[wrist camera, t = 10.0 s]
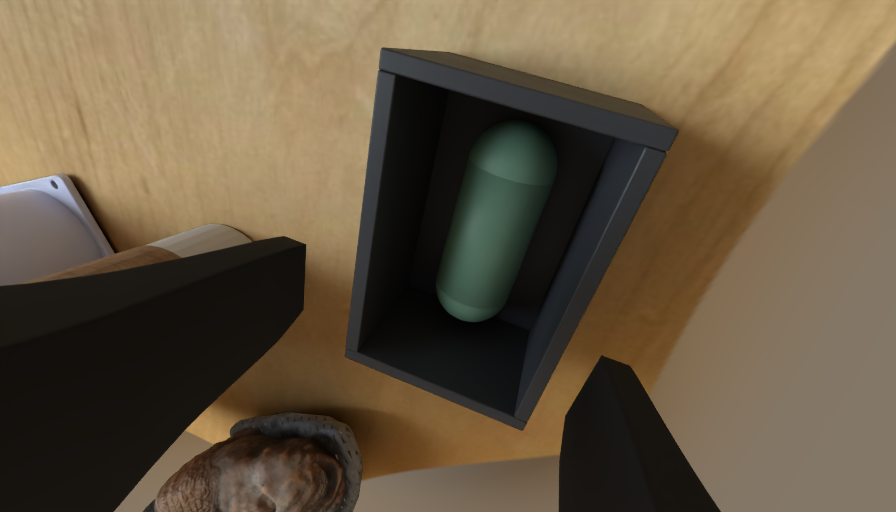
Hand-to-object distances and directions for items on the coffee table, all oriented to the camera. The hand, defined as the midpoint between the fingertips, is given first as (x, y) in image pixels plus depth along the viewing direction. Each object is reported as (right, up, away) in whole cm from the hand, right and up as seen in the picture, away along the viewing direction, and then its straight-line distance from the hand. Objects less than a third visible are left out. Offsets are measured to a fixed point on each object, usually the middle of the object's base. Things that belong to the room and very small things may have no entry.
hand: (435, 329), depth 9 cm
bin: (+2, +4, +7) cm, 8 cm away
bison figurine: (-9, -11, +18) cm, 23 cm away
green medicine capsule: (+2, +3, +7) cm, 8 cm away
